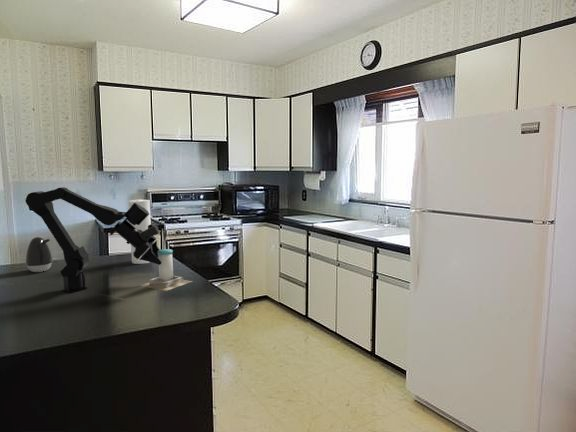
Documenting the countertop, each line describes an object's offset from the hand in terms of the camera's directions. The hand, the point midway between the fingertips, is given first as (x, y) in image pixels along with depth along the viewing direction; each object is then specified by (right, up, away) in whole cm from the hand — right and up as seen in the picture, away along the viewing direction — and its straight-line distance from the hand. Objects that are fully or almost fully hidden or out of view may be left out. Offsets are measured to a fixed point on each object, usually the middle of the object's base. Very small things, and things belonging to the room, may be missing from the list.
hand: (162, 261), depth 158 cm
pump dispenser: (-62, -7, +24) cm, 67 cm away
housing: (+1, -9, +1) cm, 10 cm away
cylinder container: (-22, -5, +41) cm, 47 cm away
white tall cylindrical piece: (+1, -9, +1) cm, 9 cm away
